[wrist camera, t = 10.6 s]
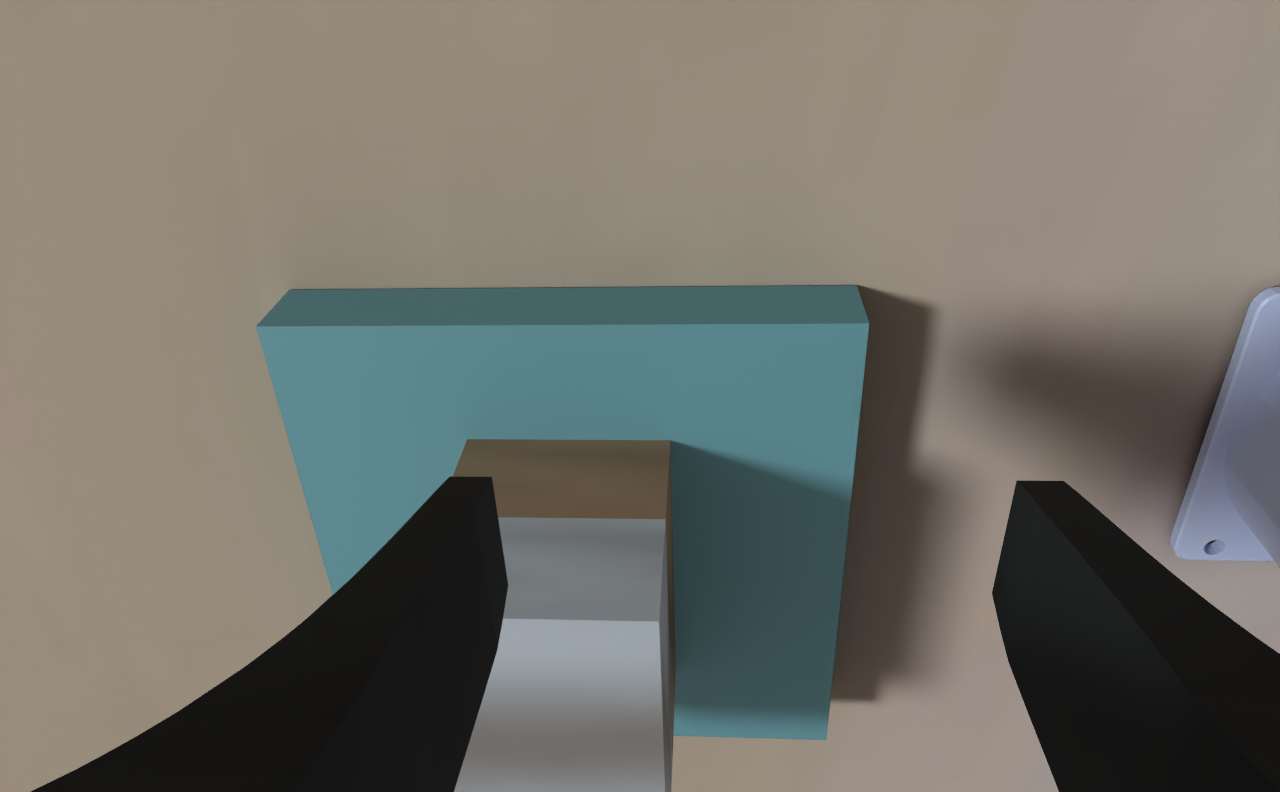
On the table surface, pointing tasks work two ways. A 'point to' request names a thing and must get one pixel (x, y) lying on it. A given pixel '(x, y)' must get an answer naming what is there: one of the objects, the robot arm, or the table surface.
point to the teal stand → (610, 410)
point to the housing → (579, 619)
